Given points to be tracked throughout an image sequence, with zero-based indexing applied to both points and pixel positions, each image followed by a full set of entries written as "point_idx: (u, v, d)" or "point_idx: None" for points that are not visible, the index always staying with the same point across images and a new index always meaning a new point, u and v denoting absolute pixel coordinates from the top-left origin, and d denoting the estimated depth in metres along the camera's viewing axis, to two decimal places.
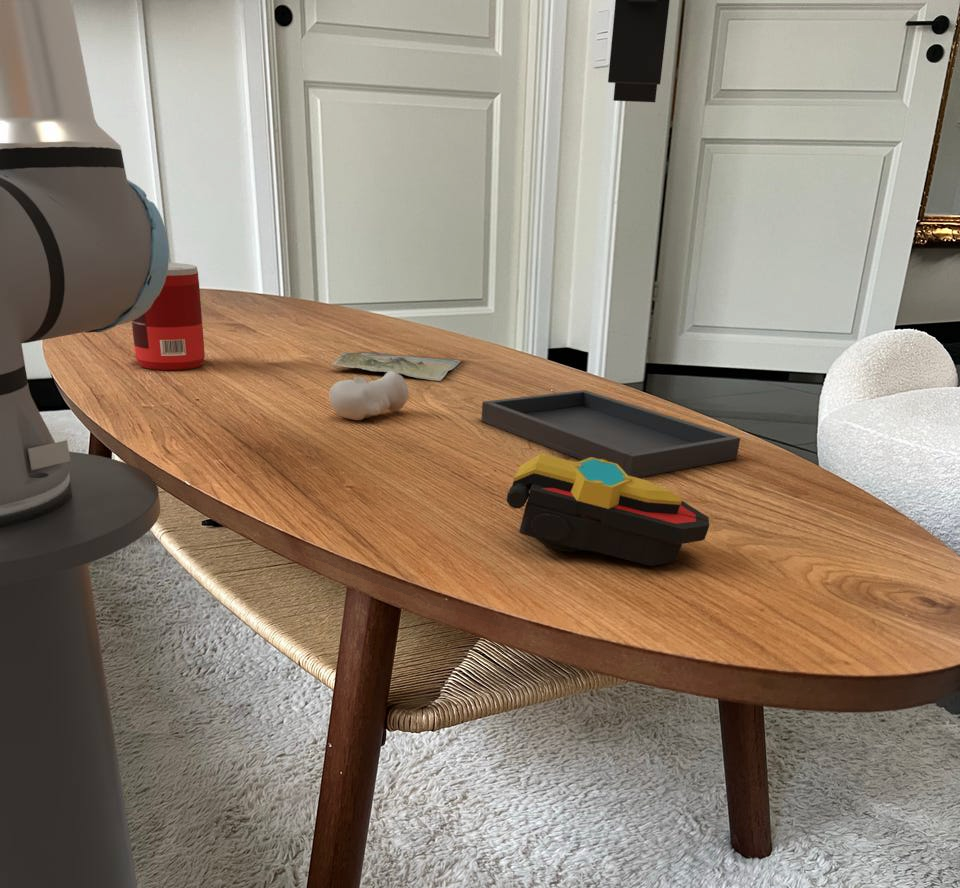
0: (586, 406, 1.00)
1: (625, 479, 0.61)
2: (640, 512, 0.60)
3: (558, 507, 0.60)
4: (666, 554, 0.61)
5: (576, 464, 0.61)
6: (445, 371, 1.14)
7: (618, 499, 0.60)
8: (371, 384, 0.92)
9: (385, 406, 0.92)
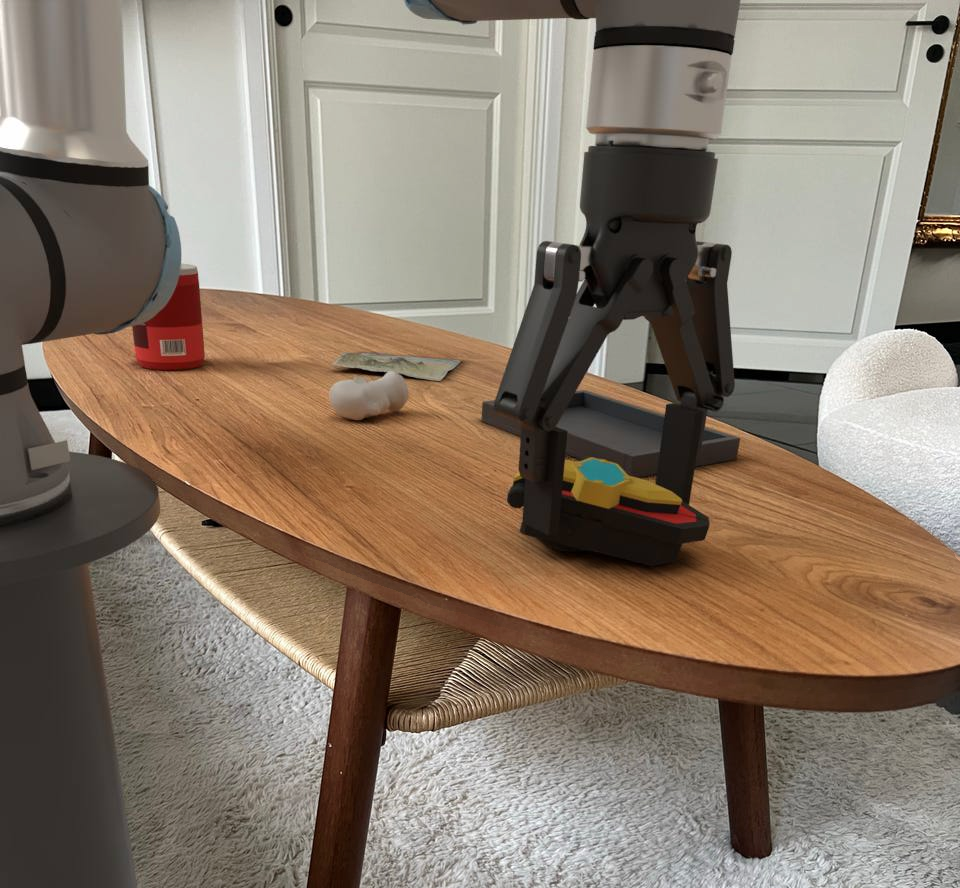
0: (586, 406, 1.00)
1: (625, 479, 0.61)
2: (640, 512, 0.60)
3: None
4: (666, 554, 0.61)
5: (576, 464, 0.62)
6: (445, 371, 1.14)
7: (618, 499, 0.60)
8: (371, 384, 0.92)
9: (385, 406, 0.92)
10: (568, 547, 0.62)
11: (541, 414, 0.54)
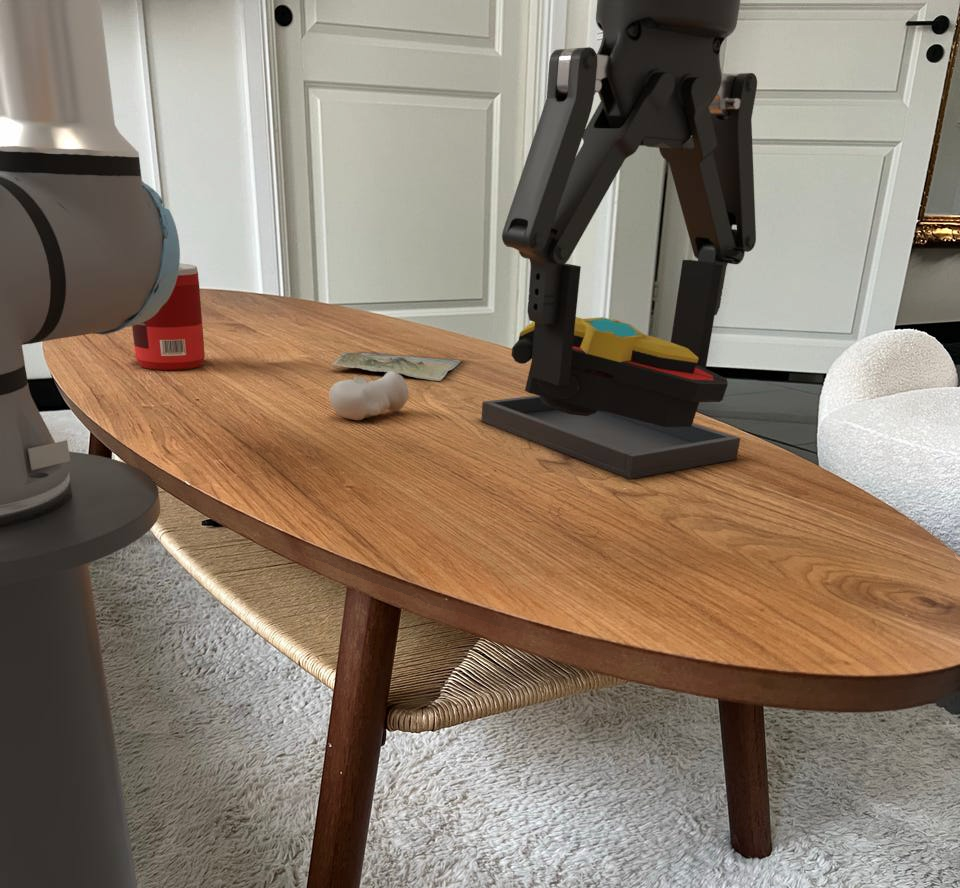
0: None
1: (638, 334, 0.57)
2: (654, 368, 0.57)
3: None
4: (681, 415, 0.57)
5: (586, 319, 0.58)
6: (445, 371, 1.14)
7: (630, 354, 0.57)
8: (371, 384, 0.92)
9: (385, 406, 0.92)
10: (576, 409, 0.59)
11: (553, 244, 0.51)
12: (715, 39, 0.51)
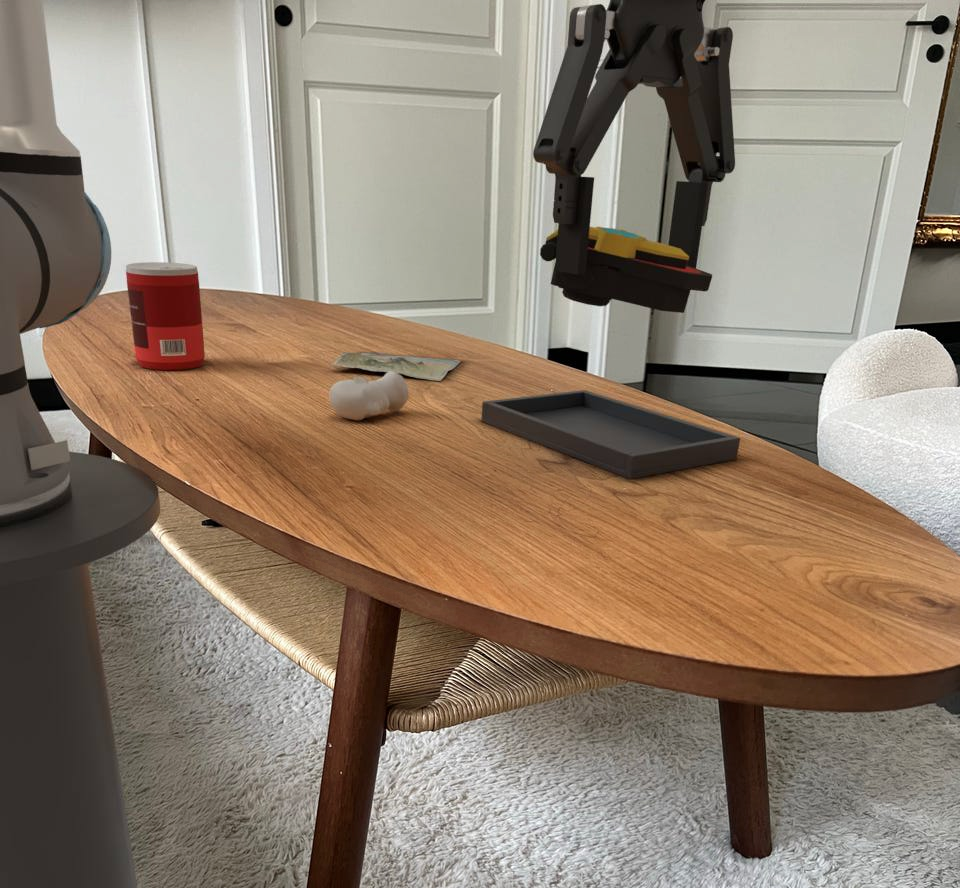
0: (586, 406, 1.00)
1: (641, 238, 0.72)
2: (653, 263, 0.71)
3: None
4: (675, 302, 0.72)
5: (599, 227, 0.73)
6: (445, 371, 1.14)
7: (634, 253, 0.71)
8: (371, 384, 0.92)
9: (385, 406, 0.92)
10: (591, 300, 0.73)
11: (572, 159, 0.65)
12: None
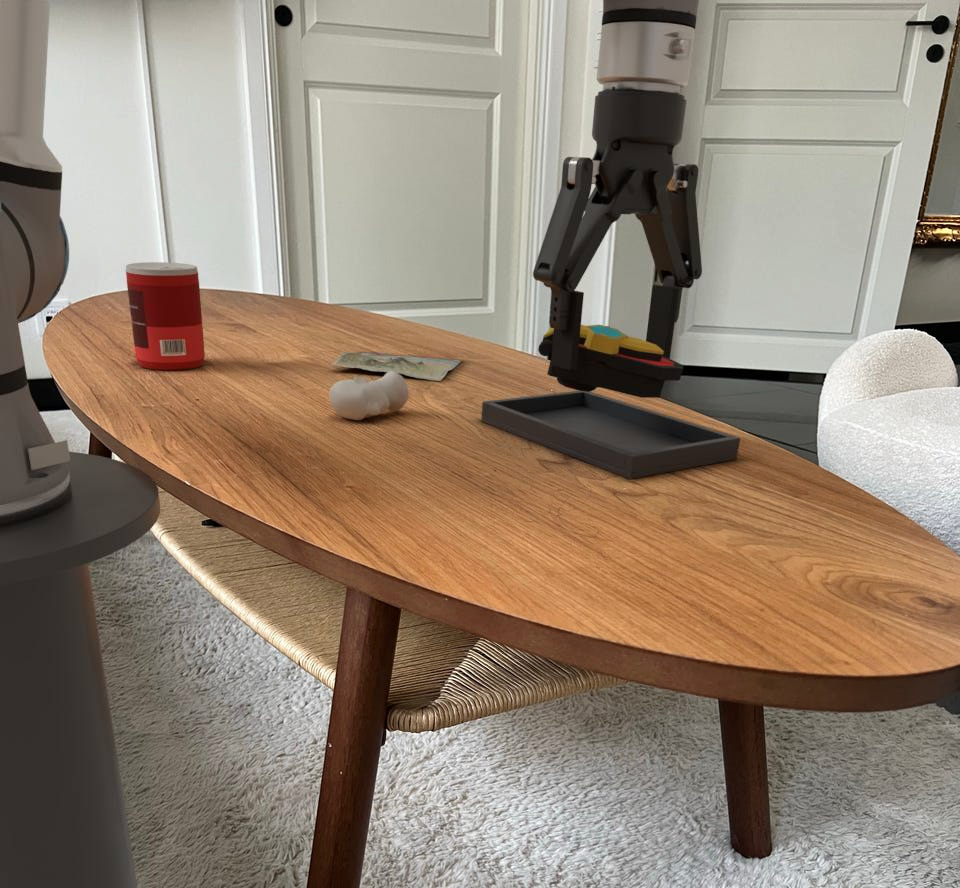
0: (586, 406, 1.00)
1: (623, 336, 0.85)
2: (633, 358, 0.85)
3: None
4: (652, 390, 0.86)
5: (588, 326, 0.86)
6: (445, 371, 1.14)
7: (618, 349, 0.85)
8: (371, 384, 0.92)
9: (385, 406, 0.92)
10: (582, 387, 0.87)
11: (566, 279, 0.79)
12: (669, 145, 0.80)
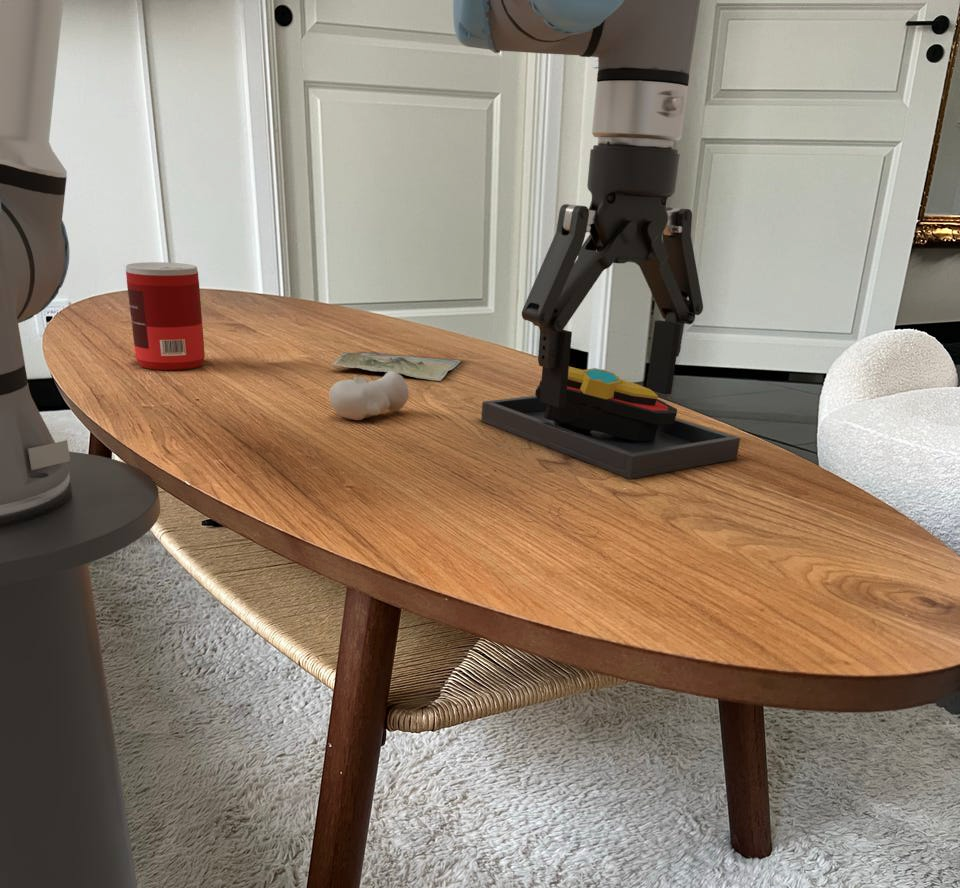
0: None
1: (618, 380, 0.87)
2: (628, 403, 0.87)
3: (571, 399, 0.86)
4: (646, 433, 0.87)
5: (584, 370, 0.88)
6: (445, 371, 1.14)
7: (613, 394, 0.87)
8: (371, 384, 0.92)
9: (385, 406, 0.92)
10: (578, 429, 0.89)
11: (554, 318, 0.80)
12: None
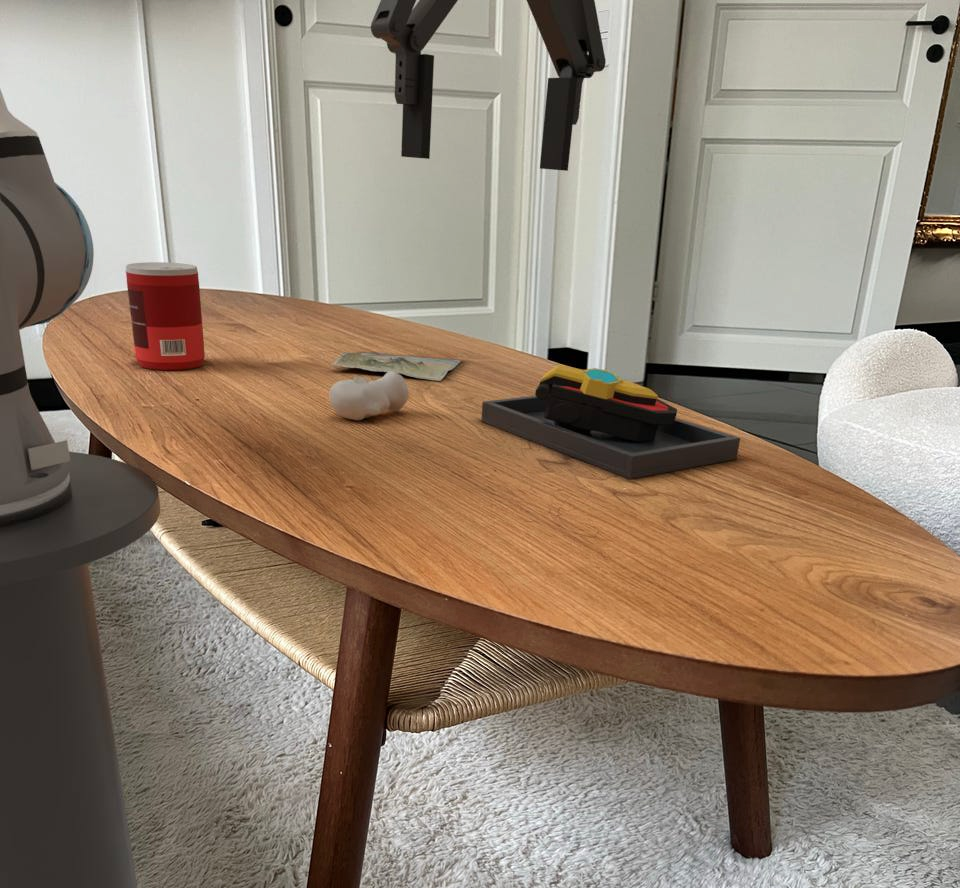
0: None
1: (618, 380, 0.87)
2: (628, 403, 0.87)
3: (571, 399, 0.86)
4: (646, 433, 0.87)
5: (584, 370, 0.88)
6: (445, 371, 1.14)
7: (613, 394, 0.87)
8: (371, 384, 0.92)
9: (385, 406, 0.92)
10: (578, 429, 0.89)
11: (410, 33, 0.65)
12: None
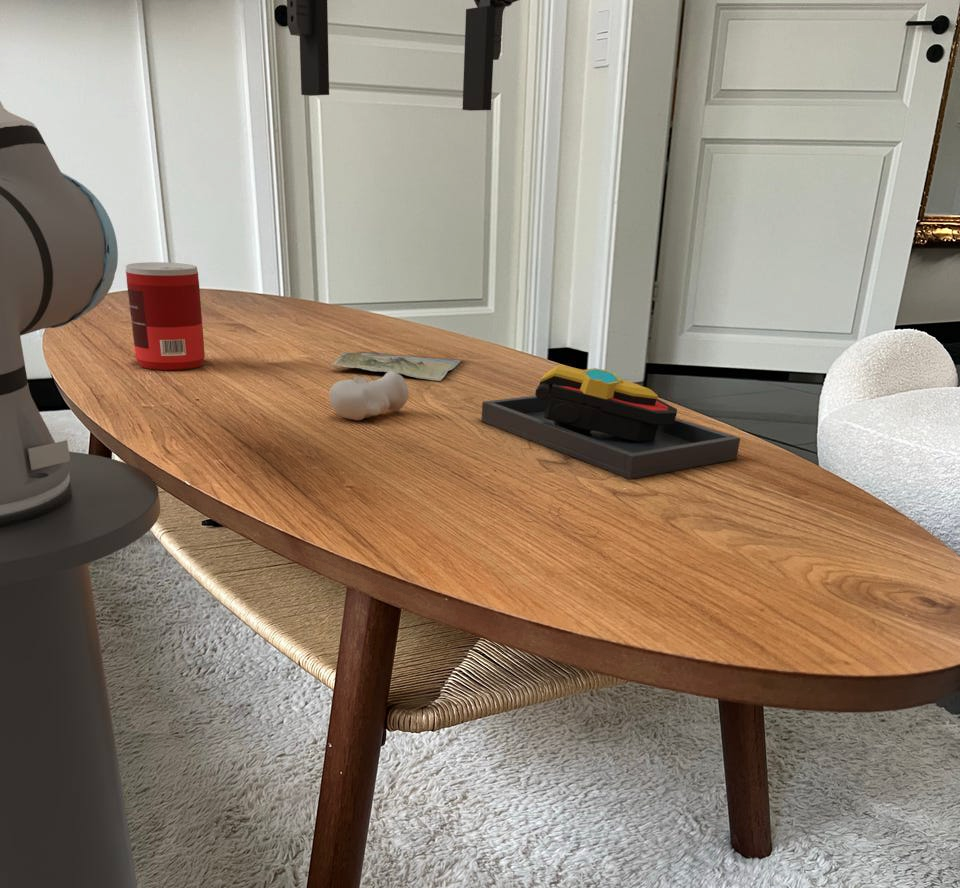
0: None
1: (618, 380, 0.87)
2: (628, 403, 0.87)
3: (571, 399, 0.86)
4: (646, 433, 0.87)
5: (584, 370, 0.88)
6: (445, 371, 1.14)
7: (613, 394, 0.87)
8: (371, 384, 0.92)
9: (385, 406, 0.92)
10: (578, 429, 0.89)
11: None
12: None
